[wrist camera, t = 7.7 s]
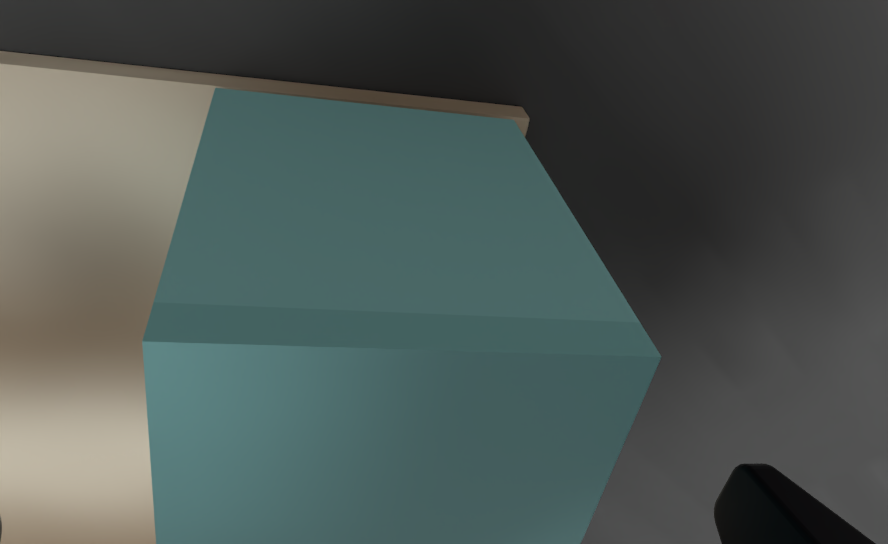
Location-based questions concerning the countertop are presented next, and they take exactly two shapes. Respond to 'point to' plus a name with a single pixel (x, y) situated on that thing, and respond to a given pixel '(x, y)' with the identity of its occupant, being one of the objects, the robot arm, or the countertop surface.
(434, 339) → the teal rectangular block
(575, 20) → the countertop surface
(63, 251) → the board
